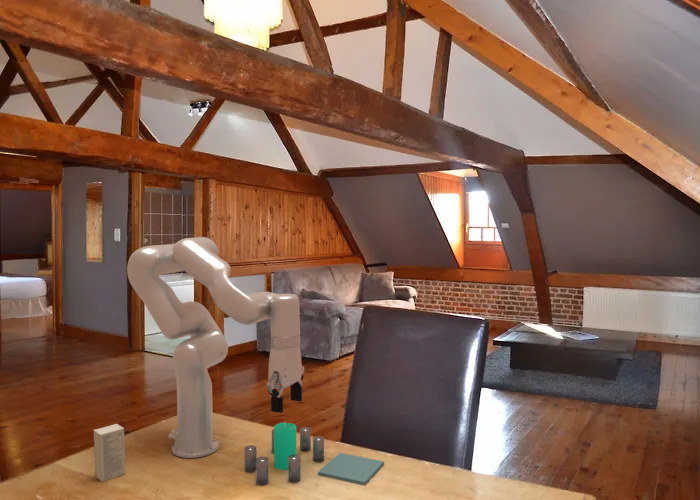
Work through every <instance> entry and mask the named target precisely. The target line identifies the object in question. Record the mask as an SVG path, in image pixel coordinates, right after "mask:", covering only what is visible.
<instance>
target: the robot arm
mask: <svg viewBox="0 0 700 500" xmlns="http://www.w3.org/2000/svg"><path fill="white" fill-rule="evenodd" d="M126 270H127V271H126V272H127V278H128V281H129V283H130V285H131V286H132V288H133V290H134V292H135V293H136V294H137V296H139V298H140V299H141V301H142V302H143V304H144V305H145V307H146V308H147V311H148V312H149V314H150V315H151V317H152V318H153V321H154V322H155V324H156V326H157V327H158V329H159V331H160V332H161V333H162V335H163V337H165V338H167V339H168V340H177V339H181V338H184V337H185V338H186V337H188V336H189V337H190V338H187V339H184V340H183V341H181V342H180V343H178V345H176V347H175V349H174V351H173V353H172V354H173V355H172V362H173V363H172V364H173V368H174V372H175V379H176V402H177V403H176V408H177V413H176V416H177V418H176V419H177V429H176V428H172V429H171V430H170V432H169V434H168V436H167V437H168V439H170V440H174V443H173V445H172V447H171V452H172V453H173V455H175V456H176V457H180V458H183V459H185V458H186V459H188V458H189V459H195V458H202V457H203V458H204V457H205V456H206V457H207V456H209V455H212V454H213V453H215V452H216V451H217V450H218V449H219V441H218V440H217V439H215V438H214V437H213V436H214V434H213V433H214V432H213V431H214V429H213V423H214V422H213V421H214V420H213V417H214V416H213V410H214V409H213V383H212V379H211V377H210V374H209V371H208V369H209V368H211V367H213V366H215V365H218V364H220V363H222V362H223V361H224V360H225V359H226V357H227V355H228V352H229V346H228V342H227V339H226V337H225V336H224V334H223V332H222V331H221V329H220V327H219V325H218V324H217V323H216V321H215V319H214V318H213V316H212V315H211V313H210V312H209V309H207V308H206V307H205V306H204V305H203V304H202V303H200V302H197V301H186V302H182V301H181V300H180V299H179V297H178V296H177V294H176V293H175V290H174V289H173V288H172V286H170V285H169V284H168V283H167V282H166V281H165V280H163V279H162V278H161V277H160V275H167V274H174V273H179V272H186V274H189V276H191V277H193V279H195V280H196V281H197V282H199V283H201V285H203V286H205V288H207V289H208V290H209V294H210V297H211V298H212V301H213V302H214V304H215V305H216V306H217V307H218V309H220V311H222V312H223V313H224V314H225V315H226V316H228V317H229V318H231V319H232V320H234V322H235V321H236V322H237V323H239V324H241V325H246V326H251V325H255V324H257V323H260V322H264V321H266V320H270V338H271V339H270V351H269V358H268V374H267V375H268V377H267V379H268V381H267V383H266V388H267V392H268V394H269V397H270V406H271V407H270V408H271V409H270V411H271V412H273V413H279V414H281V413H284V397H283V396H282V395H283V391H284V389H286V388H288V387H289V386H290V387H289V388H290V400H291V401H295V402H302V400H303V390H302V388H303V383H304V382H303V379H304V373H305V366H304V365H302V353H301V326H300V325H301V323H300V321H301V319H300V317H301V316H300V315H301V313H300V298H299V296H298V295H297V294H295V293H275V292H271V291H270V292H269V291H258V292H253V293H250V294H246V293H244V292H243V291H241V290H240V289H239V288H238V287H236V286H235V285H234V284H233V283H232V282H231V281H230V279H229V277H230V276H231V272H232V271H231V270H232V268H231V266H230V264H229V263H228V262H227V261H225V260H224V259H222V258H221V257H220V256H219V249H218V246H217V244H216V243H215V242H214V240H212V239H210V238H208V237H206V236H198V237H185V238H182V239H180V240H178V241H177V242H175V243H170V244H158V245H157V244H155V245H147V246H146V245H145V246H143V247H140V248H138V249H136V250H135V251H133V253H131V255H130V257H129V259H128V262H127V269H126ZM277 389H278V390H277Z"/></svg>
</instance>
